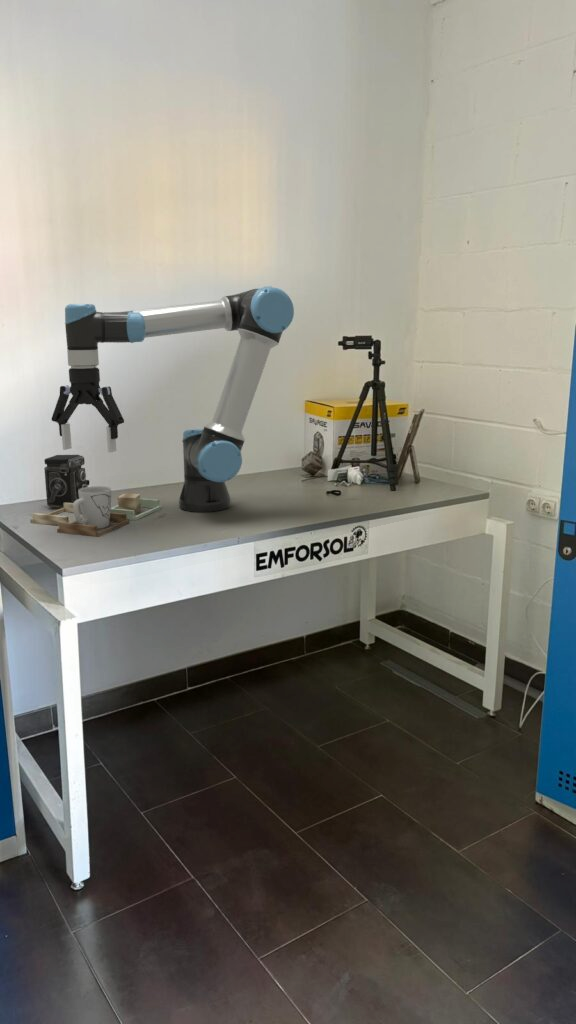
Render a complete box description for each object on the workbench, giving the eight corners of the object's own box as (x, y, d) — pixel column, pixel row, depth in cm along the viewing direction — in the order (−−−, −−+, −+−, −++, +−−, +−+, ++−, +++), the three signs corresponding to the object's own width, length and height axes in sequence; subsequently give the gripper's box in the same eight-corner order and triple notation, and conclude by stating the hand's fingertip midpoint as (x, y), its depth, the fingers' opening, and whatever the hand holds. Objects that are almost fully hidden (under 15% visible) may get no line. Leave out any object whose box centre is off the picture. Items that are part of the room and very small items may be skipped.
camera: (78, 511, 223) (75, 460, 219) (45, 509, 225) (41, 458, 221) (94, 503, 232) (91, 454, 229) (62, 501, 234) (58, 452, 231)
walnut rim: (129, 523, 209) (128, 514, 209) (98, 536, 196) (98, 527, 195) (89, 519, 213) (89, 510, 213) (57, 532, 200) (56, 522, 200)
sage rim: (161, 508, 226) (161, 500, 225) (135, 520, 212) (135, 511, 212) (124, 505, 230) (124, 496, 229) (96, 516, 217) (96, 507, 216)
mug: (86, 534, 198) (84, 496, 196) (64, 529, 203) (62, 492, 200) (119, 524, 207) (117, 488, 205) (98, 520, 212) (96, 485, 210)
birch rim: (100, 514, 219) (100, 505, 218) (69, 526, 206) (69, 517, 205) (63, 510, 223) (62, 502, 223) (30, 522, 210) (29, 513, 209)
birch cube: (140, 510, 223) (140, 493, 222) (136, 514, 218) (135, 497, 217) (123, 510, 224) (123, 493, 223) (118, 514, 219) (117, 497, 218)
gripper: (134, 366, 194) (139, 450, 199) (51, 365, 202) (57, 445, 207) (118, 368, 187) (123, 455, 192) (33, 367, 196) (40, 450, 201)
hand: (89, 450), depth 200 cm, fingers open, 13 cm apart
